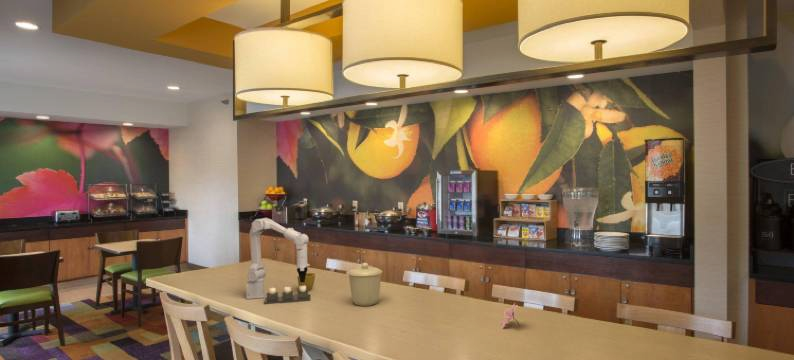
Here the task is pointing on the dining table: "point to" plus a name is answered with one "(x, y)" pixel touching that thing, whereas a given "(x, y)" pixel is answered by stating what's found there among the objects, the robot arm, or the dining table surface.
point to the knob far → (302, 289)
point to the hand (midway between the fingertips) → (302, 281)
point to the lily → (509, 315)
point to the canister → (365, 284)
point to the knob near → (272, 291)
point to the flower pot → (307, 281)
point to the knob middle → (287, 290)
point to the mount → (287, 298)
